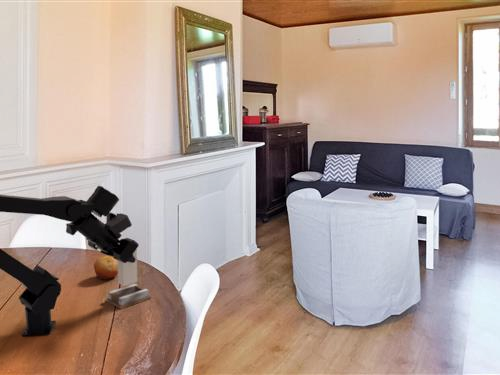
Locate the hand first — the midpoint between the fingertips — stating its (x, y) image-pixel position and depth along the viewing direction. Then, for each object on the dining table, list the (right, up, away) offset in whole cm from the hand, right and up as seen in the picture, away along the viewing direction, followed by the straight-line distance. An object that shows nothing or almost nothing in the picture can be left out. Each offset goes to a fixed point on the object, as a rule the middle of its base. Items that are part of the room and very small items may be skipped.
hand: (131, 259), depth 128 cm
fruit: (-13, -9, +18) cm, 24 cm away
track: (-1, -12, +1) cm, 12 cm away
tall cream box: (-1, -7, 0) cm, 7 cm away
